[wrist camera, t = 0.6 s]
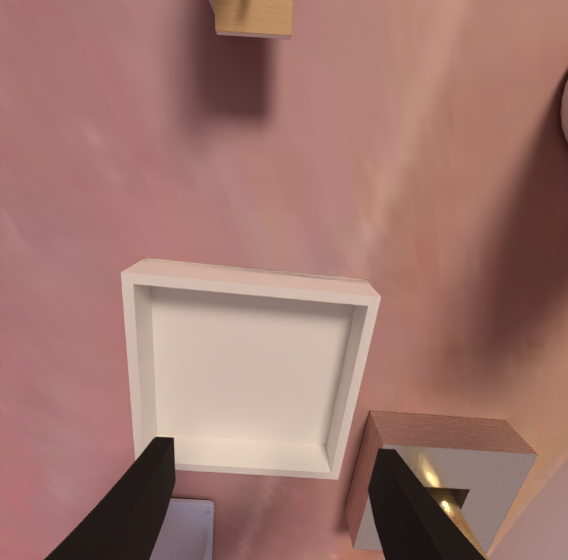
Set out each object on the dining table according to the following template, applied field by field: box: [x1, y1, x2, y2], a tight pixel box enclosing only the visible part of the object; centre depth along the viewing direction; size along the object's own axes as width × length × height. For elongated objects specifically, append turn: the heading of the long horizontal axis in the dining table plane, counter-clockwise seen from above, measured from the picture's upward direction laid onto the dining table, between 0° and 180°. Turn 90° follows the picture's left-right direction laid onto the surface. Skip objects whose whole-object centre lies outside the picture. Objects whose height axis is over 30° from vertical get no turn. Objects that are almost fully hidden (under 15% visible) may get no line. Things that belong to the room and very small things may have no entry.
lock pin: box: [425, 487, 488, 560], centre depth 21 cm, size 2×2×8 cm
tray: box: [121, 258, 381, 479], centre depth 19 cm, size 14×14×3 cm
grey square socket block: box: [345, 411, 538, 555], centre depth 23 cm, size 11×11×3 cm
